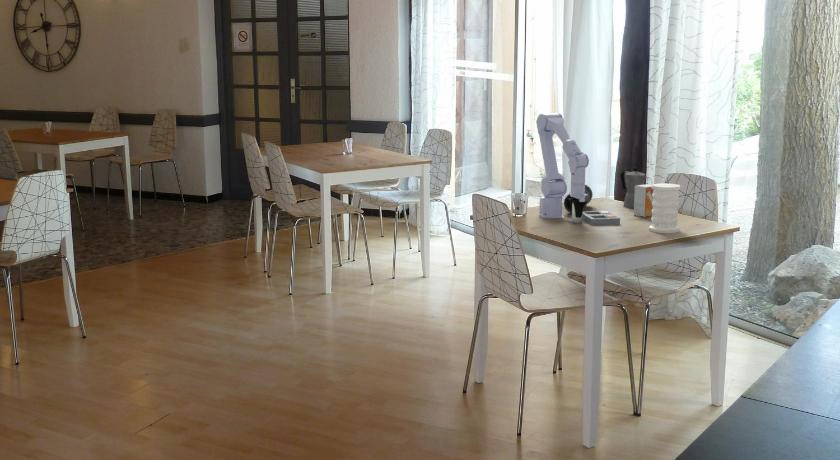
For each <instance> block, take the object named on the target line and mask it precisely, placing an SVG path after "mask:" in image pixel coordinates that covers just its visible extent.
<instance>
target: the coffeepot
mask: <svg viewBox="0 0 840 460" xmlns="http://www.w3.org/2000/svg"><path fill="white" fill-rule="evenodd" d="M619 177H620V180H621V186H622V189H624V190H626V193H625V195H624V196H625V197H624V202H623V208H626V209H634V194H635V186H638V185H645V182H646V178H647V177H648V176H647V174H646V173H643V172H640V171H638V167H636V166H635V167H633V171H626V170H622V172H621V173H620V176H619Z"/></svg>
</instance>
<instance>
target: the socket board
mask: <svg viewBox="0 0 840 460" xmlns="http://www.w3.org/2000/svg"><path fill="white" fill-rule="evenodd" d="M582 220H583V221H584V222H586V223H587V224H589V225H590V226H604V225H605V226H610V225H611V226H612V225H616V226H617V225H621V218H620V217H618V216H617V215H615V214H613V213H612V212H610V211H608V210H585V211H584V210H583V212H582Z"/></svg>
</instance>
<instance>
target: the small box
mask: <svg viewBox="0 0 840 460" xmlns="http://www.w3.org/2000/svg"><path fill="white" fill-rule="evenodd" d="M652 194H653V189H652V184H648V183H644V185H638V186H635V194H634V208H633V216H635V215H636V217H640V216H643V217H642V218H647V217H646V216H649V217H652V209H653V205H652V201H653V196H652Z"/></svg>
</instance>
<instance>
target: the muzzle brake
mask: <svg viewBox="0 0 840 460" xmlns="http://www.w3.org/2000/svg"><path fill="white" fill-rule="evenodd" d="M570 193H571V191H570V192H569V193H568V194H567V195H566V196H565V198H564V199H563V200H564V201H563V206H564V208H565V210H566V211H567V212H568V213H569V214H572V208H571V204H570V202H569V200H568V199H569V198H572V197H571V196H570ZM585 194H588V196H585V201H587V203H586V204H585V206H584V208H585V207H586V206H587V205H588V204H589V203H590V202H591V201H592V198H593V194H594V193H593V190H592V188H591V187H590V186H589V185H587V184H585Z"/></svg>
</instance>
